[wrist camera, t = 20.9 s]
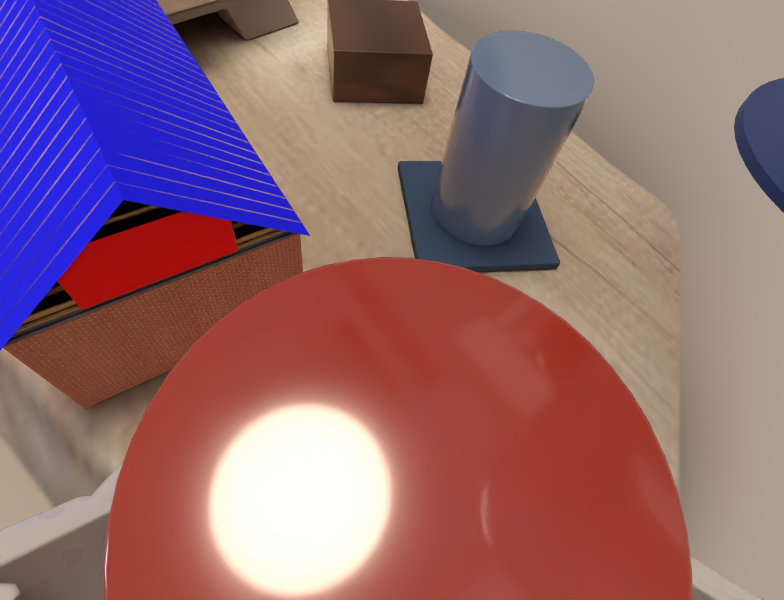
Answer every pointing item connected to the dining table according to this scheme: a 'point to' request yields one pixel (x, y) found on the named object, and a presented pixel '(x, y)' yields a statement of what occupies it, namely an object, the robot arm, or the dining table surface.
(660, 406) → the dining table surface
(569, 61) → the blue canister
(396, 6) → the riser
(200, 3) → the toaster
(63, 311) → the house
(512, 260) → the blue mat
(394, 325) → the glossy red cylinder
